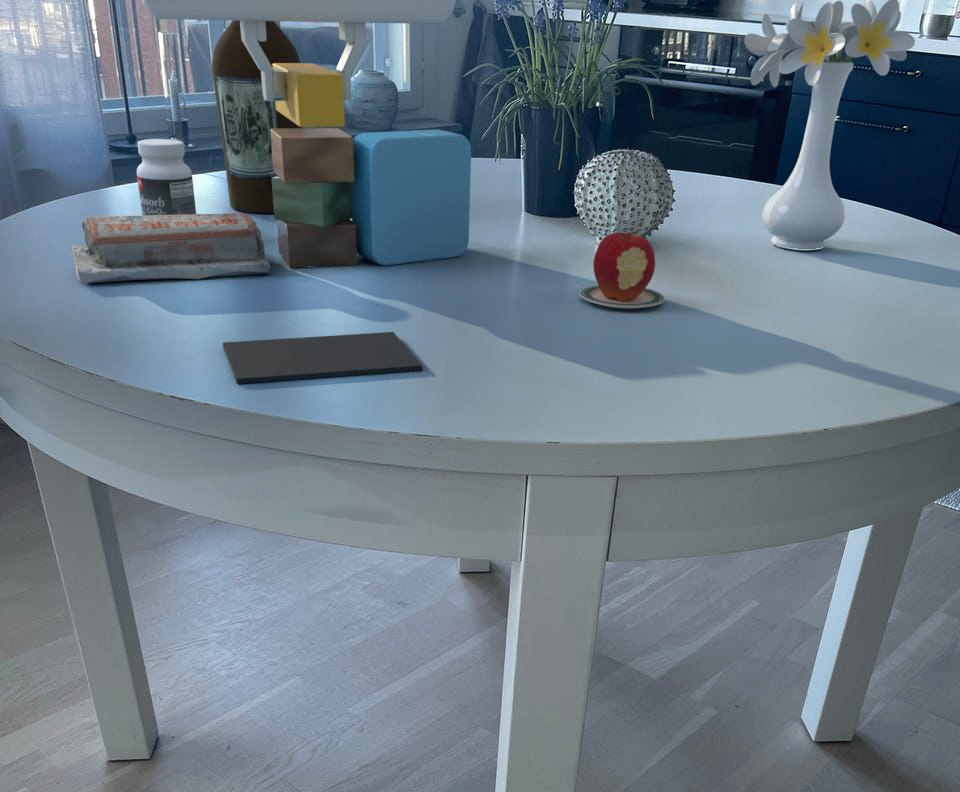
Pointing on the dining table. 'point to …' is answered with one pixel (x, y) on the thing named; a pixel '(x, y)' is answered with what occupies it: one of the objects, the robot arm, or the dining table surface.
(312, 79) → the bar
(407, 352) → the mat
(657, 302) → the apple
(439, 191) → the data package
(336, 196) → the tower
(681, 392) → the dining table surface
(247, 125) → the olive oil
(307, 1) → the robot arm
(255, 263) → the packaged product
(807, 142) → the flower vase
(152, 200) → the pill bottle
